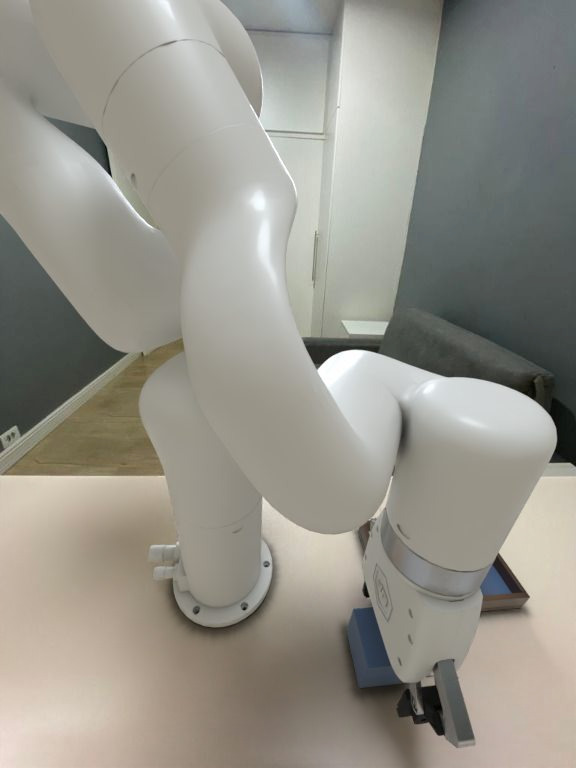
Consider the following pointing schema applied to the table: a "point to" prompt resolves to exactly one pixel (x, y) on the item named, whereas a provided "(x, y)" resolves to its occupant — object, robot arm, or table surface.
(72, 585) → the table surface
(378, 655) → the block
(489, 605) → the sorting tray
